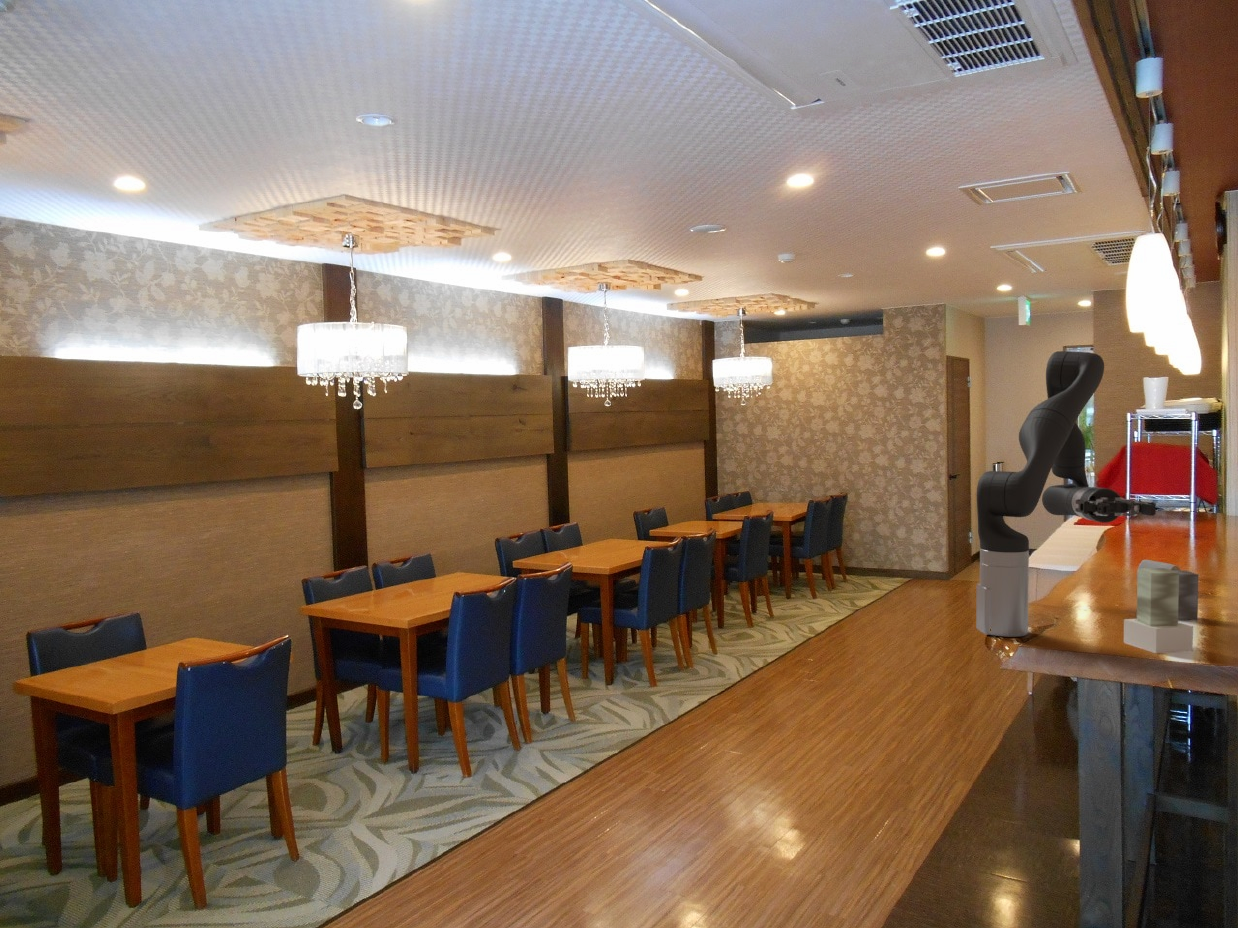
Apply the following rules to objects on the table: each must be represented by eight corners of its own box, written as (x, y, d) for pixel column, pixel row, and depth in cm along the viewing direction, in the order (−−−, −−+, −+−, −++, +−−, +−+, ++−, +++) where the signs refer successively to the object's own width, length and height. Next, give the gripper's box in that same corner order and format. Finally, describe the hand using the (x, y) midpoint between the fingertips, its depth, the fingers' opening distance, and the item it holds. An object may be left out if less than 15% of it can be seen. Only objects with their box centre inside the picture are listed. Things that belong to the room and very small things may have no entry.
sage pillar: (1150, 625, 166) (1151, 573, 166) (1136, 619, 171) (1137, 568, 171) (1177, 625, 166) (1179, 573, 165) (1163, 618, 171) (1164, 568, 170)
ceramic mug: (1171, 595, 217) (1172, 564, 217) (1135, 590, 223) (1136, 560, 223) (1188, 590, 223) (1189, 560, 223) (1153, 586, 230) (1153, 556, 230)
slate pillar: (1173, 619, 191) (1173, 574, 191) (1161, 614, 196) (1162, 570, 196) (1197, 620, 191) (1198, 574, 190) (1185, 615, 196) (1186, 570, 195)
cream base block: (1155, 654, 165) (1156, 628, 164) (1123, 644, 173) (1124, 618, 172) (1192, 651, 166) (1193, 625, 166) (1158, 641, 174) (1159, 616, 174)
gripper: (1063, 486, 196) (1094, 491, 180) (1130, 487, 194) (1168, 492, 178) (1062, 520, 196) (1093, 527, 180) (1129, 521, 195) (1167, 529, 178)
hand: (1130, 510), depth 179 cm, fingers open, 8 cm apart
